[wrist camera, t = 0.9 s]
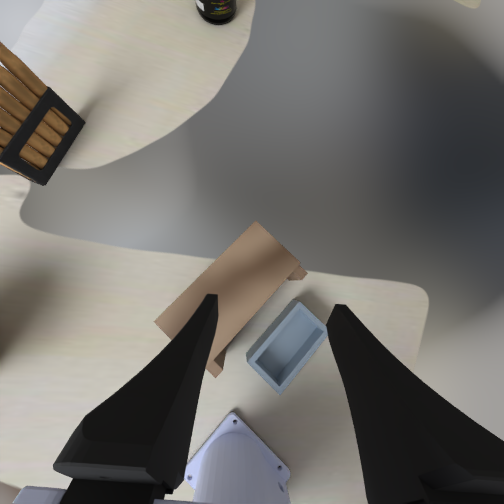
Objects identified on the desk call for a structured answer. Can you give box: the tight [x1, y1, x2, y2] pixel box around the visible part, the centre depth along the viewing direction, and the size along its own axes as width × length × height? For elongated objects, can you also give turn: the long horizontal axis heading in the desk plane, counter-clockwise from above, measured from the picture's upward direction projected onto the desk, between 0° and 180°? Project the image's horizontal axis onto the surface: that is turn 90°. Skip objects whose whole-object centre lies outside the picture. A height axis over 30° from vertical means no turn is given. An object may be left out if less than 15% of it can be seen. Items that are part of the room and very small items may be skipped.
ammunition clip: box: [0, 42, 85, 186], centre depth 20 cm, size 11×2×12 cm, turn 159°
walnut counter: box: [154, 221, 308, 378], centre depth 22 cm, size 8×14×6 cm, turn 137°
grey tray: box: [246, 299, 328, 395], centre depth 23 cm, size 5×9×3 cm, turn 136°
